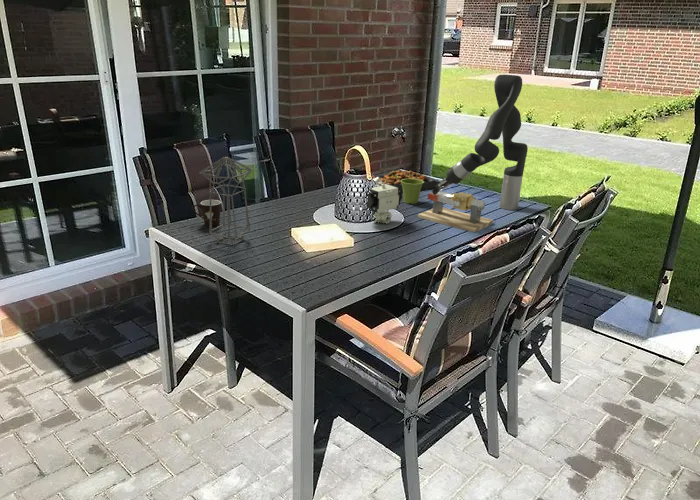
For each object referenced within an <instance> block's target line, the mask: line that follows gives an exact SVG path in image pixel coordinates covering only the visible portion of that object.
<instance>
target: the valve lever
mask: <svg viewBox="0 0 700 500" xmlns="http://www.w3.org/2000/svg"><path fill="white" fill-rule="evenodd" d="M427 200H429V201H436V202H437V201H439V202H443V204H446V205H450V206H452V207H453V206H454V207H459V206H460V202H459V201H458V200H457V201H454V200H450V199H447V198H443V197H439V195H436V194H435V195H434V194H432V192H430V193H427Z"/></svg>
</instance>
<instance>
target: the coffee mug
mask: <svg viewBox="0 0 700 500" xmlns="http://www.w3.org/2000/svg"><path fill="white" fill-rule="evenodd" d="M221 206H222V202H221V201H220V200H218V199H211V212H212V228H213V227H218V226H220V225H221V224H220V223H221ZM195 207H199V208H200V210H201V213H202V214H199V213H198V212H196V211H195ZM192 211H193V212H194V214H196V215H197V216H198V217H200V218H202V219H203V223H204V226H205V227H209V228H210V199H207V200H206V199H205V200H202V201H201V202H200V204H195V205H193V206H192Z"/></svg>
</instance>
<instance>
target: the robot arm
mask: <svg viewBox="0 0 700 500" xmlns="http://www.w3.org/2000/svg"><path fill="white" fill-rule="evenodd" d="M493 87H494V94H495V98H496V102H497V105H498V108H497V109H496V110H494V112H493V113H492V114H491V115H490V116H489V118H488V121H487V123H486V125H485V128H484V131H483V133H482V134H481V136H480V137H479V138H478V139H477V141H476V142H475V145H474V152H475V153H474V152H470V153H468V154H467V155H465V156H464V157H463V158H462V159H461V160H458V162H456V163H455V164H454V165H453V166H452V167H450V168H449V169H448V170H447V171H446V176H445V177H443V178H442V180H440V182H438V183H437V185H436V186H435V187H436V188H435V189H431V193H433V194H434V195H435V194H437V193H438V192H439V191H441V192H442V191H443V190H445V189H447V188H448V187H450V186H452V185H453V184H454V185H458V184H460V183H461V182H463V181H464V180H465V179H466V178H467V177H469V175H471V173H473V172H474V171H475V170H476V169H477V168H480V167H481V166H484V165H486V164H489V163H491V162H493V161H494V160H496V158H498V157H499V156H498V155H499V154H500V148H499V147H498V146H497V145H496V144H494V143H493V142H492V141H491V140H493V141H497V140H499V139H500V137H501V136H502V150H503V158H504V159H505V160H506V161H510V162H516V165H512V166H507V167H506V168H504V171H503V178H502V185H501V193H500V200H499V208H500V209H503V210H508V211H513V210H514V211H515V210H518V209H519V204H520V203H519V202H520V196H521V190H522V182H523V177H524V172H525V171H524V170H525V166H526V160H527V155H528V150H529V149H528V144H527V143H523V142H517V141H513V138H514V137H515V136H516V135H517V134H518V132H519V131H520V129H521V127H522V118H521V117H522V116H521V113H520V111H519V109H518V107H516V106H515V104H516V102H517V100H518V98H519V96H520V94H521V91H522V88H523V78H522V77H521V76H520V75H515V74H499V75H497V76H496V77H495V80H494V84H493Z"/></svg>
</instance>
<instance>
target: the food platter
mask: <svg viewBox="0 0 700 500" xmlns="http://www.w3.org/2000/svg"><path fill="white" fill-rule="evenodd" d="M361 169H362V170H364V168H363V167H362V168H361ZM371 175H372V177H373V180H374V181H375V183H376V186H382V184H385V185H393V186H395V187H398V188H400V191H401V193H403V187H402V182H401V180H402V179H418V180H422V181H424V183H423V184H422V187H421V191H425V190H434V189H435V188H436V187H435V186H436V185H437V183H438V182H441V180H437V179H435V178H432V177H430V176H427V175H425V174H422V173H419V172H417V171H412V170H409V171H408V170H406V169H405V170H401V169H398V170H391V171H390V172H389V173H387V174H380V175H374V173H372V172H371Z"/></svg>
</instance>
